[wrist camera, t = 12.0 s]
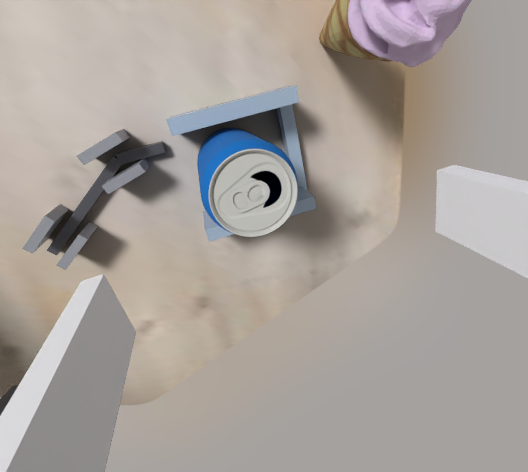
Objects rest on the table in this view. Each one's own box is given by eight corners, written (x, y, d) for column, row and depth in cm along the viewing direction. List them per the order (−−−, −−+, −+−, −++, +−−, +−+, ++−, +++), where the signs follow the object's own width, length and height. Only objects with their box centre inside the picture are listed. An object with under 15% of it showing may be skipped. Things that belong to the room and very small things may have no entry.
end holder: (206, 222, 31) (209, 241, 27) (170, 117, 27) (166, 119, 22) (304, 192, 32) (322, 206, 28) (285, 87, 28) (303, 83, 23)
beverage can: (272, 178, 31) (316, 217, 20) (215, 205, 31) (228, 258, 20) (248, 116, 28) (284, 122, 17) (184, 144, 28) (181, 169, 17)
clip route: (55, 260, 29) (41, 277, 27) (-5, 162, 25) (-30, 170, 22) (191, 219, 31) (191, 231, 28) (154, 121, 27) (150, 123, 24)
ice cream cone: (372, 8, 27) (553, -88, 13) (353, 85, 29) (492, 68, 16) (302, -13, 25) (430, -148, 12) (288, 70, 27) (381, 38, 14)
